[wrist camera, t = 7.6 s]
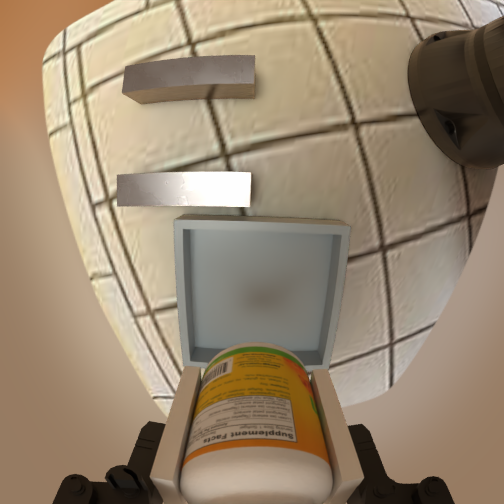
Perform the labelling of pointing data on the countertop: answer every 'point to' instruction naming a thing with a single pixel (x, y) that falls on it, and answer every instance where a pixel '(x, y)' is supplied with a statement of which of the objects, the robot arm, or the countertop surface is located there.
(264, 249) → the grey tray
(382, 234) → the countertop surface
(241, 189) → the steel jaws
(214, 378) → the supplement bottle
